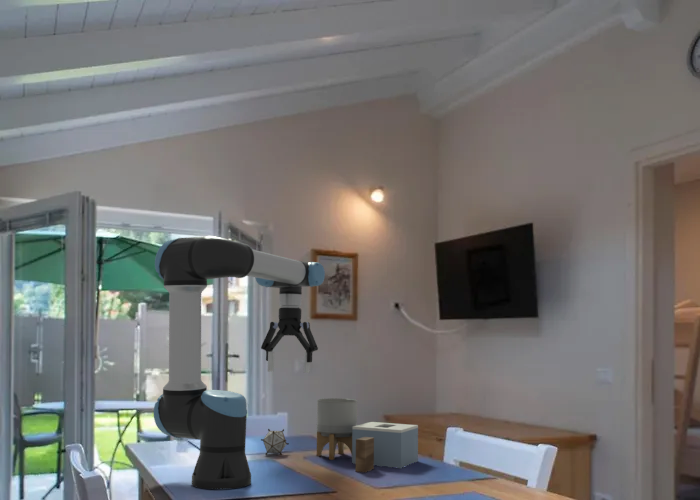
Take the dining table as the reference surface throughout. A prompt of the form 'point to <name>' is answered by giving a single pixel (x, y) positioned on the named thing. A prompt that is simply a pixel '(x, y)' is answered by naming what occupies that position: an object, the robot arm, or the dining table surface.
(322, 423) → the planter
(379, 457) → the coin box
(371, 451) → the block
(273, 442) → the game die
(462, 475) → the dining table surface
